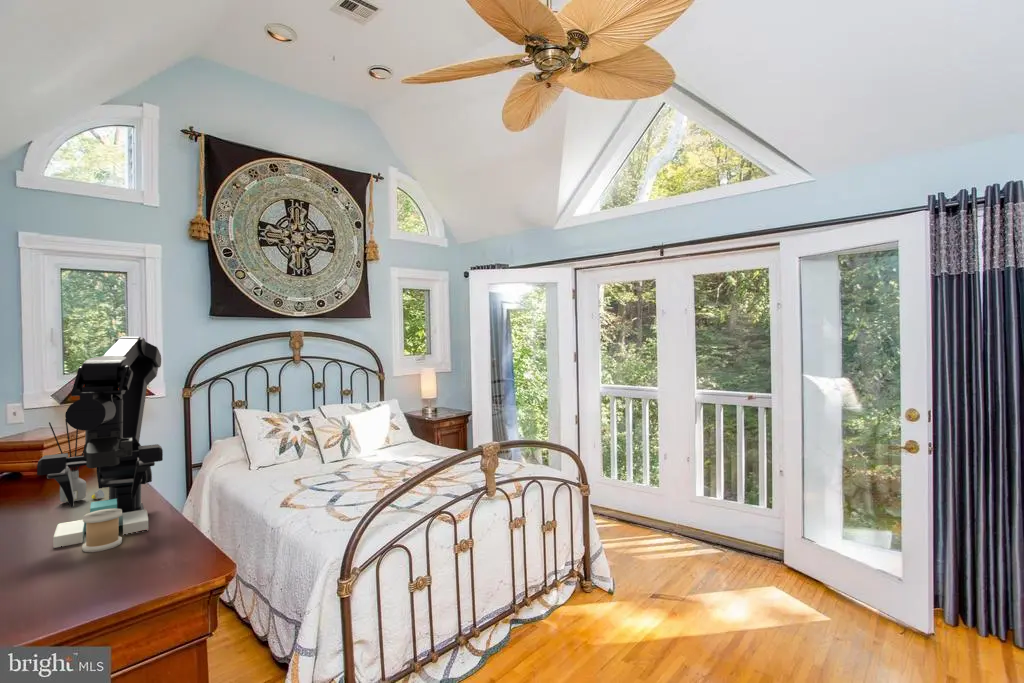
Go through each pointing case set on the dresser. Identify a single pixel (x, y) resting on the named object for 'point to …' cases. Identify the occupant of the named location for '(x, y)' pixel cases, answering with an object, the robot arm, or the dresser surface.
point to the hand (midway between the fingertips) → (103, 502)
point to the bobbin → (102, 530)
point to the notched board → (75, 529)
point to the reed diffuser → (76, 477)
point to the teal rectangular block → (103, 505)
